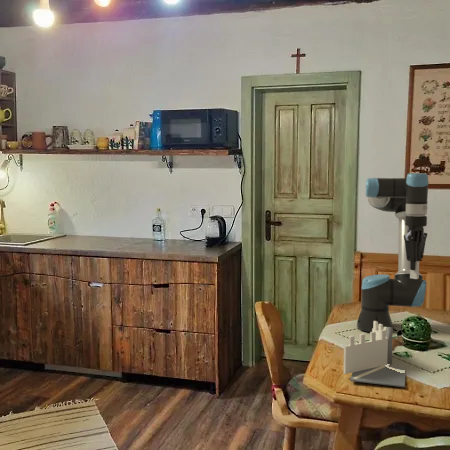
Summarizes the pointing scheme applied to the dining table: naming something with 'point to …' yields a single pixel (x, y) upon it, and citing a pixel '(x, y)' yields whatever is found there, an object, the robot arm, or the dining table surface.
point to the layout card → (379, 376)
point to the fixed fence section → (389, 335)
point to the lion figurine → (397, 342)
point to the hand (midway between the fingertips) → (414, 278)
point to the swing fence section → (365, 352)
